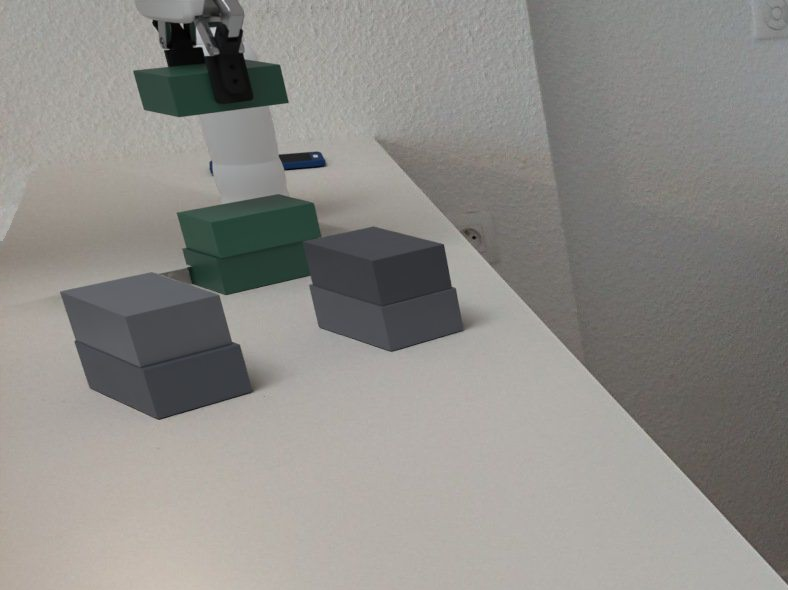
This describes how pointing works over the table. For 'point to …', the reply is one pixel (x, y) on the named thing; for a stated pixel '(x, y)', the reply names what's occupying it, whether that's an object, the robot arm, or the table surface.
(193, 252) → the green stack
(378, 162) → the table surface
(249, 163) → the water bottle
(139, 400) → the grey blocks
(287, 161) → the cell phone
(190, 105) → the green block
